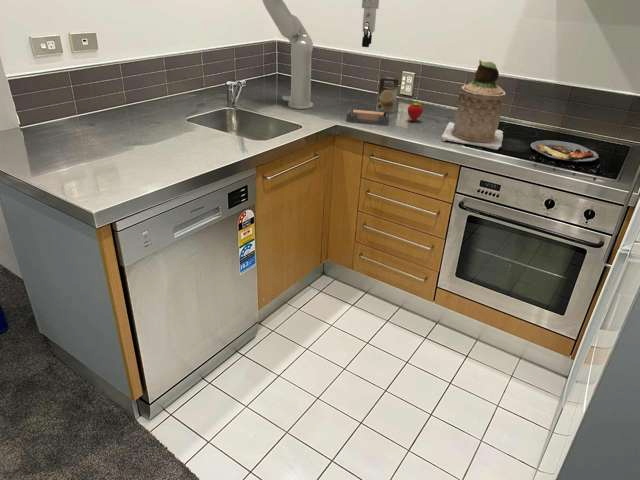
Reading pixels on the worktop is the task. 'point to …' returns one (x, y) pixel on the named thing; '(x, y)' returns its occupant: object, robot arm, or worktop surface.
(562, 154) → the food plate
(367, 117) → the clay strip
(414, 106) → the strawberry
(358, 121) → the drying rack
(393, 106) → the coffee box
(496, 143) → the cookie jar
